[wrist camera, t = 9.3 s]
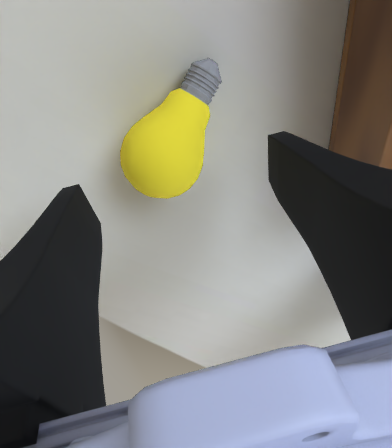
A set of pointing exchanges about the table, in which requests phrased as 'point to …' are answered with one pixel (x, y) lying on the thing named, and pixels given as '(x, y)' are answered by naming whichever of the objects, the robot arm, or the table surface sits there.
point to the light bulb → (172, 137)
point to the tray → (365, 86)
